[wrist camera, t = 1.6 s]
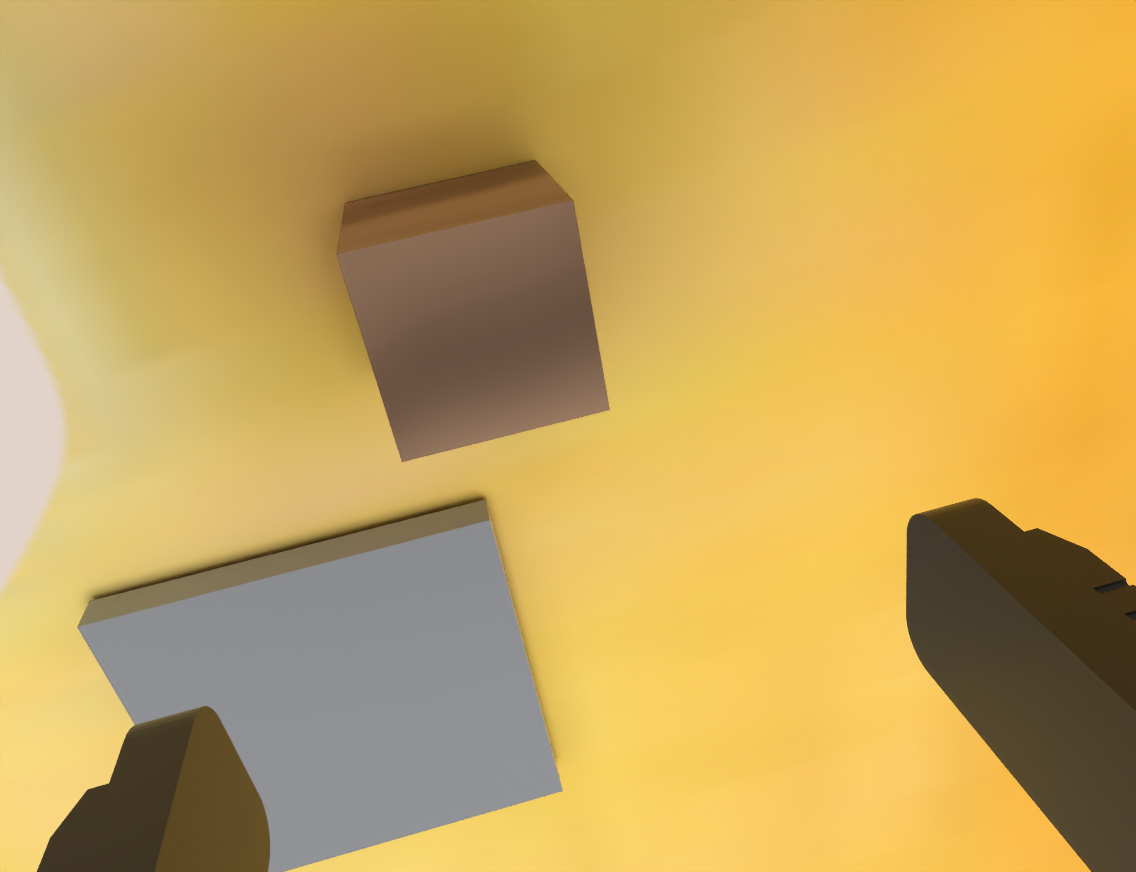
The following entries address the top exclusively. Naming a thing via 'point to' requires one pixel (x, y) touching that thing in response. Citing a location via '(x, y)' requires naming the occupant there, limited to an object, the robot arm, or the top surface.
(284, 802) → the plate
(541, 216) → the walnut cube
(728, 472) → the top surface
